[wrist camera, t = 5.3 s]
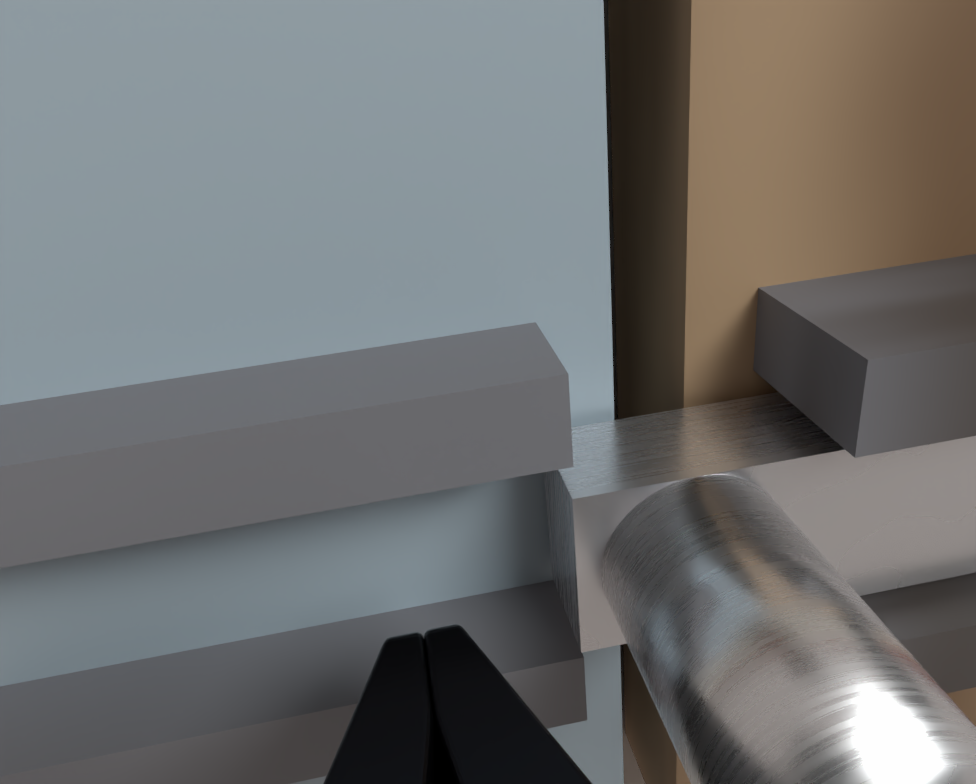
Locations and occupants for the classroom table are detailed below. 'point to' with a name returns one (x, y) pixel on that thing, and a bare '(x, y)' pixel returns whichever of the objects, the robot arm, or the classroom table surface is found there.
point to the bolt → (767, 588)
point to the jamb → (801, 247)
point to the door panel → (290, 370)
